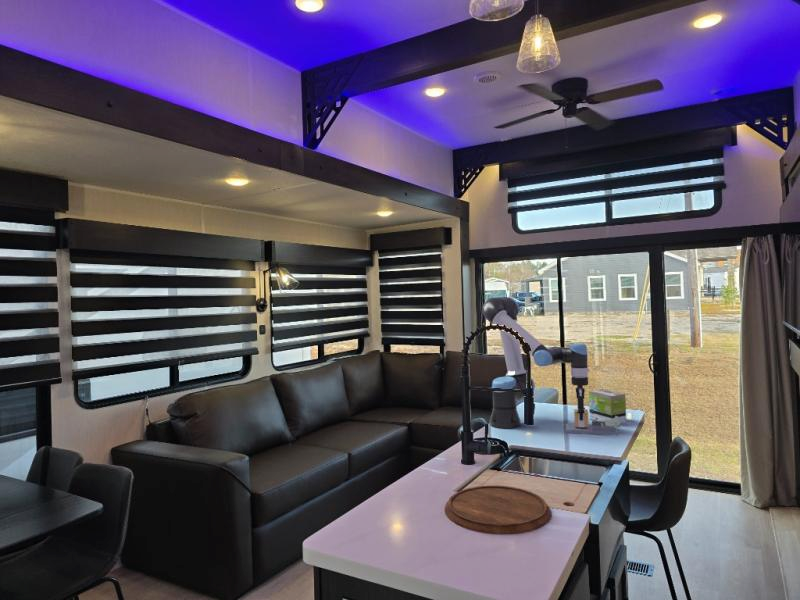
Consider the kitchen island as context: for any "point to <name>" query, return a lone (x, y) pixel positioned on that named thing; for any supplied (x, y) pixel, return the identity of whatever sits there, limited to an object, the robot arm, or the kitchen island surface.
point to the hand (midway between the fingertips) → (581, 425)
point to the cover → (612, 422)
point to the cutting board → (497, 510)
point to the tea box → (607, 405)
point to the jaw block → (584, 417)
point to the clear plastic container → (592, 428)
